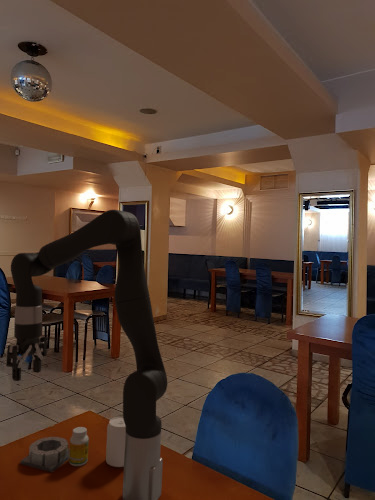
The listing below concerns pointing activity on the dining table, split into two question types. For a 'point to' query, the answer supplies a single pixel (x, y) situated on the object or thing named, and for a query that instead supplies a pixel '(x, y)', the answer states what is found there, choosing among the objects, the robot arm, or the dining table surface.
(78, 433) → the supplement bottle
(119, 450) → the beverage can
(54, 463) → the rosette collar
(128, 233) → the robot arm
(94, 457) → the dining table surface
